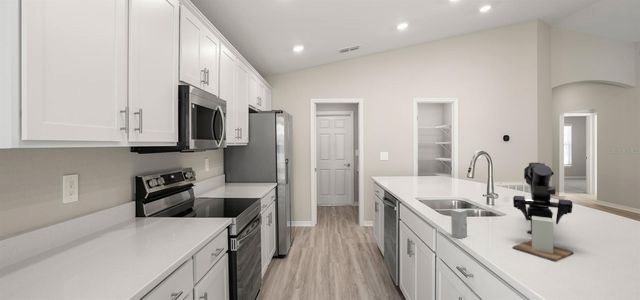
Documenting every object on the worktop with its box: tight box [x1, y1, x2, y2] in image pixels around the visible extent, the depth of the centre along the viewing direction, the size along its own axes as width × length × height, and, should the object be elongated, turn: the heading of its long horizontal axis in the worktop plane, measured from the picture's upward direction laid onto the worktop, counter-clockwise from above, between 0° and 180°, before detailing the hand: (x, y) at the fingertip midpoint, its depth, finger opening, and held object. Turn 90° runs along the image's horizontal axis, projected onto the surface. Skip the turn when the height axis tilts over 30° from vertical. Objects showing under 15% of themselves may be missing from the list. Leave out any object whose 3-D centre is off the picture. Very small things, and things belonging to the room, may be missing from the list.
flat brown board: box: [512, 239, 574, 262], centre depth 105 cm, size 14×14×5 cm
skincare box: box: [450, 208, 468, 239], centre depth 124 cm, size 6×4×12 cm
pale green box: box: [531, 216, 554, 253], centre depth 105 cm, size 6×6×12 cm
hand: (541, 221), depth 107 cm, fingers open, 9 cm apart
